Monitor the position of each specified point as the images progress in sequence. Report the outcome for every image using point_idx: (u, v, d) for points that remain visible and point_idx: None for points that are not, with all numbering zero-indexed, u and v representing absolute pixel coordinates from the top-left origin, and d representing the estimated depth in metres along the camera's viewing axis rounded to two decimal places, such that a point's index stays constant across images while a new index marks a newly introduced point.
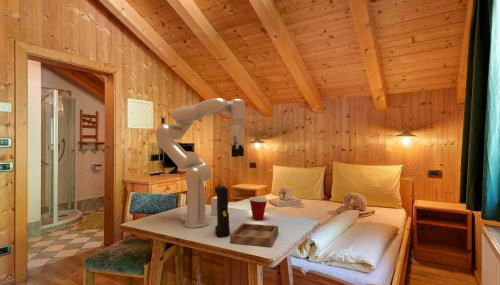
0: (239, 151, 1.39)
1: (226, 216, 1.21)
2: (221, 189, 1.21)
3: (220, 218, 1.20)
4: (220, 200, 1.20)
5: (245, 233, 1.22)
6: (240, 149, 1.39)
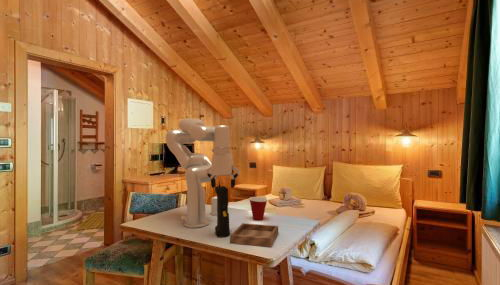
0: (213, 182, 1.24)
1: (226, 216, 1.21)
2: (221, 189, 1.21)
3: (220, 218, 1.20)
4: (220, 200, 1.20)
5: (245, 233, 1.22)
6: (214, 179, 1.25)
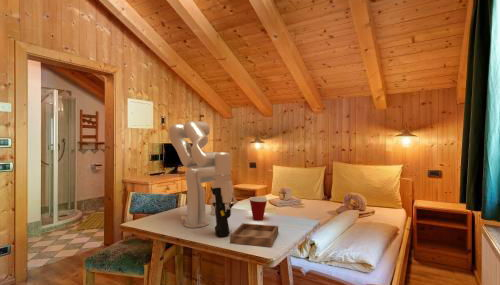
0: None
1: (224, 215, 1.21)
2: (217, 189, 1.20)
3: (218, 218, 1.20)
4: (217, 200, 1.20)
5: (245, 233, 1.22)
6: None
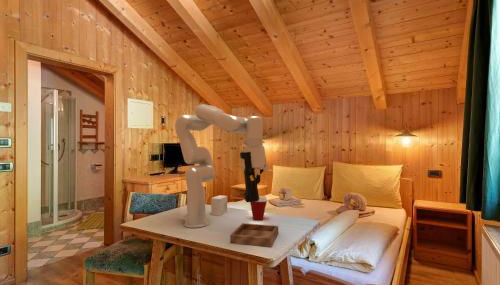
0: None
1: (254, 180, 1.17)
2: (246, 153, 1.17)
3: (248, 183, 1.17)
4: (246, 164, 1.17)
5: (245, 233, 1.22)
6: None
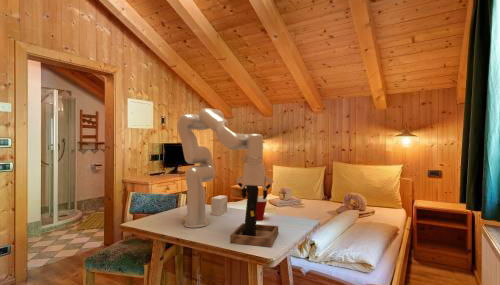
0: (244, 192, 1.20)
1: (254, 216, 1.16)
2: (251, 188, 1.16)
3: (247, 217, 1.16)
4: (249, 199, 1.16)
5: None
6: (245, 189, 1.21)
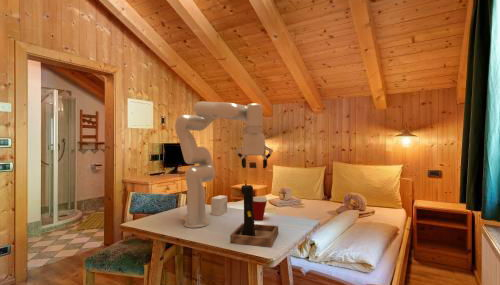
0: (244, 162, 1.20)
1: (251, 217, 1.16)
2: (245, 188, 1.16)
3: (244, 218, 1.16)
4: (244, 200, 1.16)
5: None
6: (244, 160, 1.21)
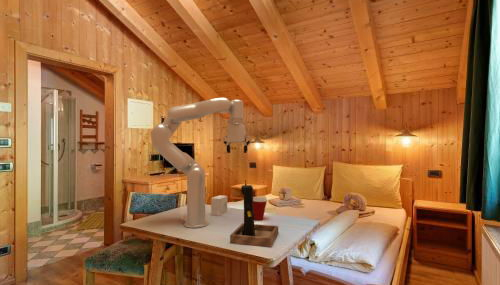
0: (229, 148, 1.46)
1: (251, 217, 1.16)
2: (245, 188, 1.16)
3: (244, 218, 1.16)
4: (244, 200, 1.16)
5: None
6: (229, 146, 1.46)
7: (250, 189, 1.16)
